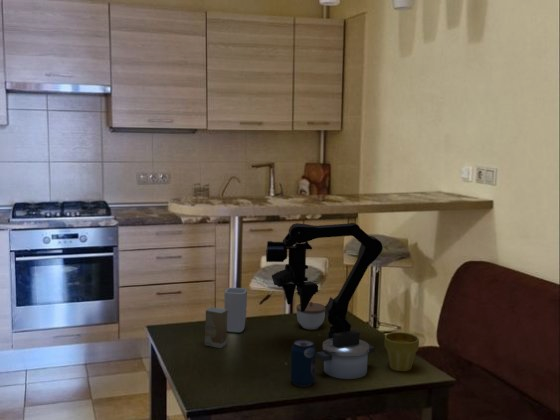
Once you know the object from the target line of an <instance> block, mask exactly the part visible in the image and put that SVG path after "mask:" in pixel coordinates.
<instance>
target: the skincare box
mask: <svg viewBox="0 0 560 420" xmlns="http://www.w3.org/2000/svg"><path fill="white" fill-rule="evenodd" d="M227 312H228V310H225V308H218V307H217V308H216V307H209V308H208V309H206V310H205V321H204V323H205V324H204V325H205V327H204V329H205V330H204V332H205V333H204V346H207V347H212V348H217V349H222V348H224V347H225V346H226V345H227V336H228V335H227V334H228V333H227V332H228V331H227Z"/></svg>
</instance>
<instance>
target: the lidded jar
mask: <svg viewBox="0 0 560 420" xmlns="http://www.w3.org/2000/svg"><path fill="white" fill-rule="evenodd" d="M325 306H326V305H324V304H322V303H316V302H313V301H310V302H309V304H308V305H307V307H306V309H305V311H304V312H301V307H300V303H299V304H297V305H296V318H297V322H298V323H299V325H300V326H301V328H303V329H306V330H309V331H310V330H318V329H319V327H321V326H322V324H323V323H324V320H325V317H326V315H325V310H326V309H325Z"/></svg>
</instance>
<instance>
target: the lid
mask: <svg viewBox="0 0 560 420" xmlns="http://www.w3.org/2000/svg"><path fill="white" fill-rule="evenodd" d="M360 333H361V332H359V331H357V330H356V329H355V330H350V331H348V332H341V333H335V334H333V338H330V339H329V338H327V339H326V340H324V341H323V342H322V350H323V351H326V352H327V353H330V354H332V355H336V356H343V357H356V356H362V355H365V354H367V353H368V352H369V345H370V344H369V343H368V342H367V341H365V340H363V339H360V338H361V337H360V335H361V334H360ZM368 354H369V353H368Z"/></svg>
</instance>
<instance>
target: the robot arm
mask: <svg viewBox="0 0 560 420" xmlns="http://www.w3.org/2000/svg"><path fill="white" fill-rule="evenodd" d="M351 236H352V237H353V238H355V239H356V240H357V241H358V242H359V243H360V246H359V249H358V254H357V259H356V261H355V263H354V265H353V267H352V269H351V270H350V272H349V274H348V276H347V278H346V280H345V282H344V283H343V285H342V287H341V289H340V290H339V293H338V294H337V296H335V297H334V298H333V297H330V296H329V299H328V301H327V303H326V305H324V306H325V309H326V310H325V317H326V319H327V321H328V323H329V324H330V325H331V326H329V332H328V339H330V338H333V334H335V333H341V332H348V331H351V328H352V324H351V322H350V321H349V319H348V318H347V313H348V310H349V304H350V301H351V299H352V298H353V296H354V294H355V292H356V291H357V289H358V286H359V284H360V283H361V281H362V279H363V278H364V275H365V273H366V271H367V269H368V268H369V266H370V265H372V263H373V262H375V261H376V259H378V257H379V256H380V255H381V253H382V252H383V250H384V247H383V244H382V241H381V240H379V239H377V238H376V237H375V236H373V235H369V234H368V233H367V232H365V231H364V230H363V229H362V228H361V227H360V225H359V224H357V223H356V222H349V223H339V224H338V223H337V224H325V225H324V224H322V225H314V224H309V223H308V224H307V223H299V222H295V223H292V224H291V225H290V226H289V228H288V233H287V235H286V236H285V237H284V238H283V239H282V241H272V240H268V241H266V249H265V262H266V263H284V261H286V260H287V259H288V263H287V264H285V265H284V266H285V267H284V269H282V270H279V271H277V272H276V273H274V274H271V278H272V279H271V280H272V282H273V285H275V286H277V287H278V288H282V289H283V292H284V296H285V299H286V303H287V305H291V304H292V301H293V299H294V295H295V291H296V294H297V296H299V304H300V307H301V312H304V311H305V309H306V307H307V305H308V304H309V303H310V302H311V300H312V298H313V297H314V295H316V294H317V293H319V285H318V284H317V283H315V282H312V281H308V280H309V278H308V277H307V276H306V270H308V269H309V265H307V263H306V262H307V250H312V249H313V247H312V245H310V244H309V242H310V241H313V240H315V239H322V238H324V239H326V238H337V237H338V238H339V237H351Z"/></svg>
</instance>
